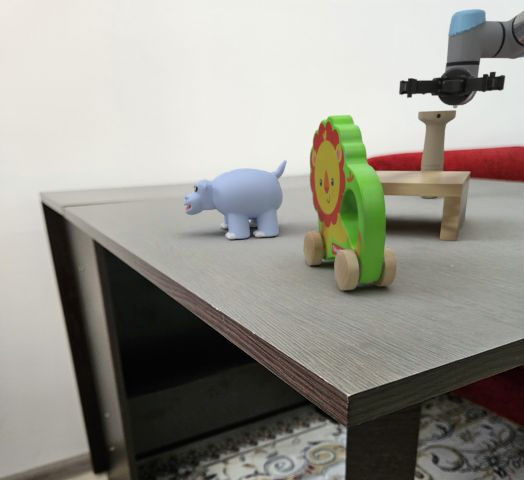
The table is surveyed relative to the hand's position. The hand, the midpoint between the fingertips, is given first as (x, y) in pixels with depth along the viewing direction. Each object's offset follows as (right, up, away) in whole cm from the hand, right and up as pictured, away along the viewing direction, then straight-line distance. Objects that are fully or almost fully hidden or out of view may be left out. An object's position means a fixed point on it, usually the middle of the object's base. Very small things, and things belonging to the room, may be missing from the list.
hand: (445, 84), depth 99 cm
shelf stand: (-15, -33, -24) cm, 43 cm away
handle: (-3, -22, 0) cm, 22 cm away
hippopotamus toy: (-39, -34, -23) cm, 56 cm away
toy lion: (-27, -43, -44) cm, 67 cm away
